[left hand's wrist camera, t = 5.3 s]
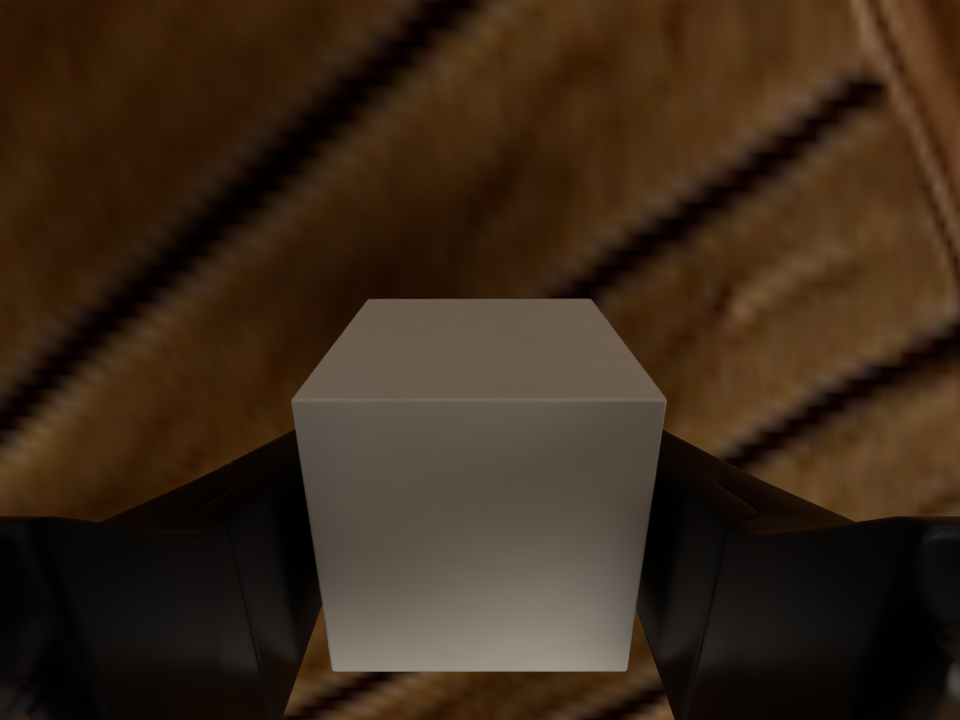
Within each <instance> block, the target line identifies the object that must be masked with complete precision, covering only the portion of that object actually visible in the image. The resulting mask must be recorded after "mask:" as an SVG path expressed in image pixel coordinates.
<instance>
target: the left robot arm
mask: <svg viewBox="0 0 960 720" xmlns="http://www.w3.org/2000/svg"><path fill="white" fill-rule="evenodd" d="M321 606H322V601H321V594H320V588H319V581H318V574H317V568H316V561H315V555H314V548H313V541H312V535H311V528H310V522H309V515H308V508H307V502H306V495H305V489H304V482H303V475H302V469H301V462H300V456H299V449H298V442H297V436H296V429H295V430H293V431H291V432H289V433H287V434H285V435H283V436H281V437H279V438H277V439H275V440H273V441H271V442H269V443H267V444H265V445H263V446H262V447H260V448H258V449H256V450H254V451H252V452H250V453H248V454H246V455H244V456H242V457H240V458H238V459H236V460H234V461H232V462H231V464H226V465H224V466H222V467H220V468H218V469H216V470H214V471H212V472H210V473H208V474H206V475H204V476H202V477H200V478H198V479H196V480H194V481H192V482H190V483H188V484H185V485H183V486H181V487H179V488H177V489H174V490H172V491H170V492H168V493H165V494H163V495H161V496H159V497H156V498H154V499H152V500H149V501H147V502H145V503H143V504H140V505H138V506H136V507H133V508H131V509H129V510H126V511H124V512H122V513H120V514H117V515H115V516H113V517H110V518H108V519H106V520H104V521H101V522H93V521H86V520H78V519H71V518H64V517H55V516H0V720H282V717H283V714H284V712H285V709H286V706H287V703H288V700H289V697H290V694H291V692H292V689H293V686H294V683H295V680H296V677H297V674H298V672H299V669H300V666H301V663H302V660H303V657H304V654H305V652H306V649H307V646H308V643H309V640H310V637H311V634H312V632H313V629H314V626H315V623H316V620H317V617H318V614H319V612H320V609H321ZM636 609H637V612H638V615H639V618H640V621H641V623H642V626H643V629H644V632H645V635H646V638H647V641H648V644H649V647H650V649H651V652H652V655H653V658H654V661H655V664H656V667H657V670H658V673H659V675H660V678H661V681H662V684H663V687H664V690H665V693H666V696H667V699H668V702H669V704H670V707H671V710H672V713H673V716H674V719H675V720H960V516H898V517H890V518H882V519H875V520H868V521H861V522H854V521H852V520H850V519H847V518H845V517H843V516H841V515H838V514H836V513H834V512H831V511H829V510H827V509H825V508H822V507H820V506H818V505H816V504H813V503H811V502H809V501H806V500H804V499H802V498H800V497H797V496H795V495H793V494H791V493H788V492H786V491H784V490H782V489H780V488H777V487H775V486H773V485H771V484H769V483H766V482H764V481H762V480H760V479H758V478H756V477H754V476H752V475H750V474H748V473H746V472H744V471H742V470H740V469H738V468H736V467H734V466H732V465H730V464H726V462H724V461H722V460H720V459H719V458H717V457H715V456H713V455H711V454H709V453H707V452H705V451H703V450H701V449H699V448H697V447H695V446H693V445H691V444H689V443H687V442H686V441H684V440H682V439H680V438H678V437H676V436H674V435H672V434H670V433H668V432H666V431H664V430H662V436H661V443H660V450H659V457H658V463H657V470H656V477H655V483H654V490H653V497H652V504H651V510H650V517H649V524H648V531H647V537H646V544H645V551H644V558H643V564H642V571H641V578H640V585H639V591H638V598H637V605H636Z"/></svg>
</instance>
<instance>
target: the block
mask: <svg viewBox="0 0 960 720" xmlns="http://www.w3.org/2000/svg"><path fill="white" fill-rule="evenodd" d="M291 403H292V409H293V416H294V423H295V429H296V436H297V442H298V449H299V456H300V462H301V469H302V475H303V482H304V489H305V495H306V502H307V508H308V515H309V522H310V528H311V535H312V541H313V548H314V555H315V561H316V568H317V574H318V581H319V588H320V594H321V601H322V607H323V614H324V620H325V627H326V634H327V640H328V647H329V653H330V660H331V667H332V670H333V671H626V670H627V666H628V659H629V652H630V645H631V639H632V632H633V625H634V618H635V612H636V605H637V598H638V591H639V585H640V578H641V571H642V564H643V558H644V551H645V544H646V537H647V531H648V524H649V517H650V510H651V504H652V497H653V490H654V483H655V477H656V470H657V463H658V457H659V450H660V443H661V436H662V430H663V423H664V416H665V409H666V403H667V400H666V398H665V397H664V395H663V394H662V393H661V391H660V390H659V389H658V387H657V386H656V385H655V383H654V382H653V381H652V379H651V378H650V377H649V375H648V374H647V373H646V371H645V370H644V369H643V367H642V366H641V365H640V364H639V362H638V361H637V360H636V358H635V357H634V356H633V354H632V353H631V352H630V350H629V349H628V348H627V346H626V345H625V344H624V342H623V341H622V340H621V338H620V337H619V336H618V334H617V333H616V332H615V330H614V329H613V328H612V326H611V325H610V324H609V322H608V321H607V320H606V318H605V317H604V316H603V314H602V313H601V312H600V310H599V309H598V308H597V306H596V305H595V304H594V302H593V301H592V300H591V299H368V300H367V301H366V302H365V304H364V305H363V306H362V308H361V309H360V310H359V312H358V313H357V314H356V316H355V317H354V318H353V320H352V321H351V322H350V323H349V325H348V326H347V327H346V329H345V330H344V331H343V333H342V334H341V335H340V337H339V338H338V339H337V340H336V342H335V343H334V344H333V346H332V347H331V348H330V350H329V351H328V352H327V354H326V355H325V356H324V358H323V359H322V360H321V361H320V363H319V364H318V365H317V367H316V368H315V369H314V371H313V372H312V373H311V375H310V376H309V377H308V379H307V380H306V381H305V382H304V384H303V385H302V386H301V388H300V389H299V390H298V392H297V393H296V394H295V396H294V397H293V398H292V401H291Z"/></svg>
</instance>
